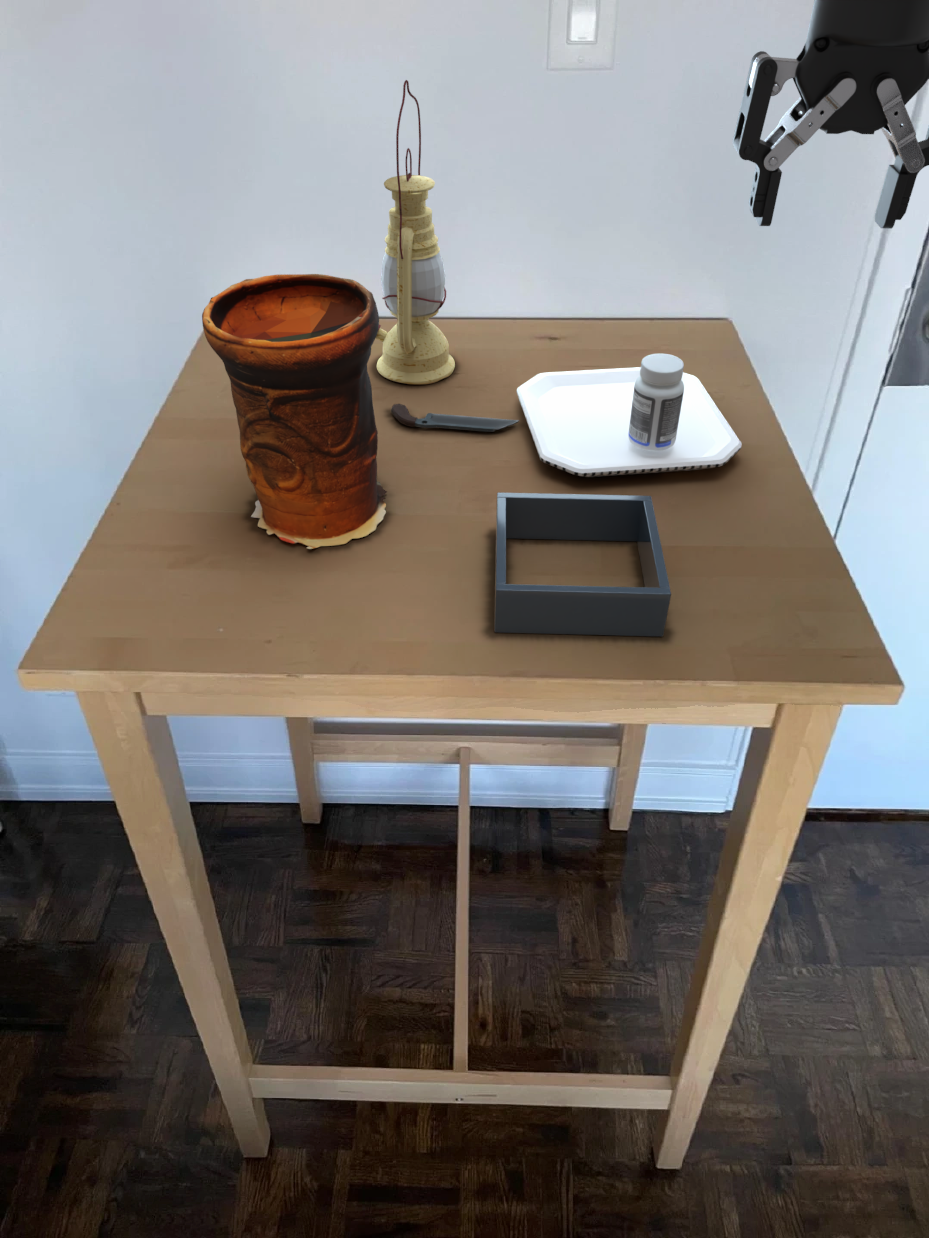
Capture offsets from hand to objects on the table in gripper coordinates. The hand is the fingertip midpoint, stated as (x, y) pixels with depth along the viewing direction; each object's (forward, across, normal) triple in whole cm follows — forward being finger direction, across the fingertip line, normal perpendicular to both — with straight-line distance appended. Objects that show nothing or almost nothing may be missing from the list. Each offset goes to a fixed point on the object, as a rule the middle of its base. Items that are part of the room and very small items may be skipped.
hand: (822, 224), depth 67 cm
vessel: (+28, -40, +4) cm, 49 cm away
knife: (+28, -27, +20) cm, 44 cm away
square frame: (+28, -16, -6) cm, 33 cm away
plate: (+28, -9, +19) cm, 35 cm away
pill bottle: (+26, -7, +14) cm, 30 cm away
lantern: (+28, -33, +33) cm, 55 cm away
